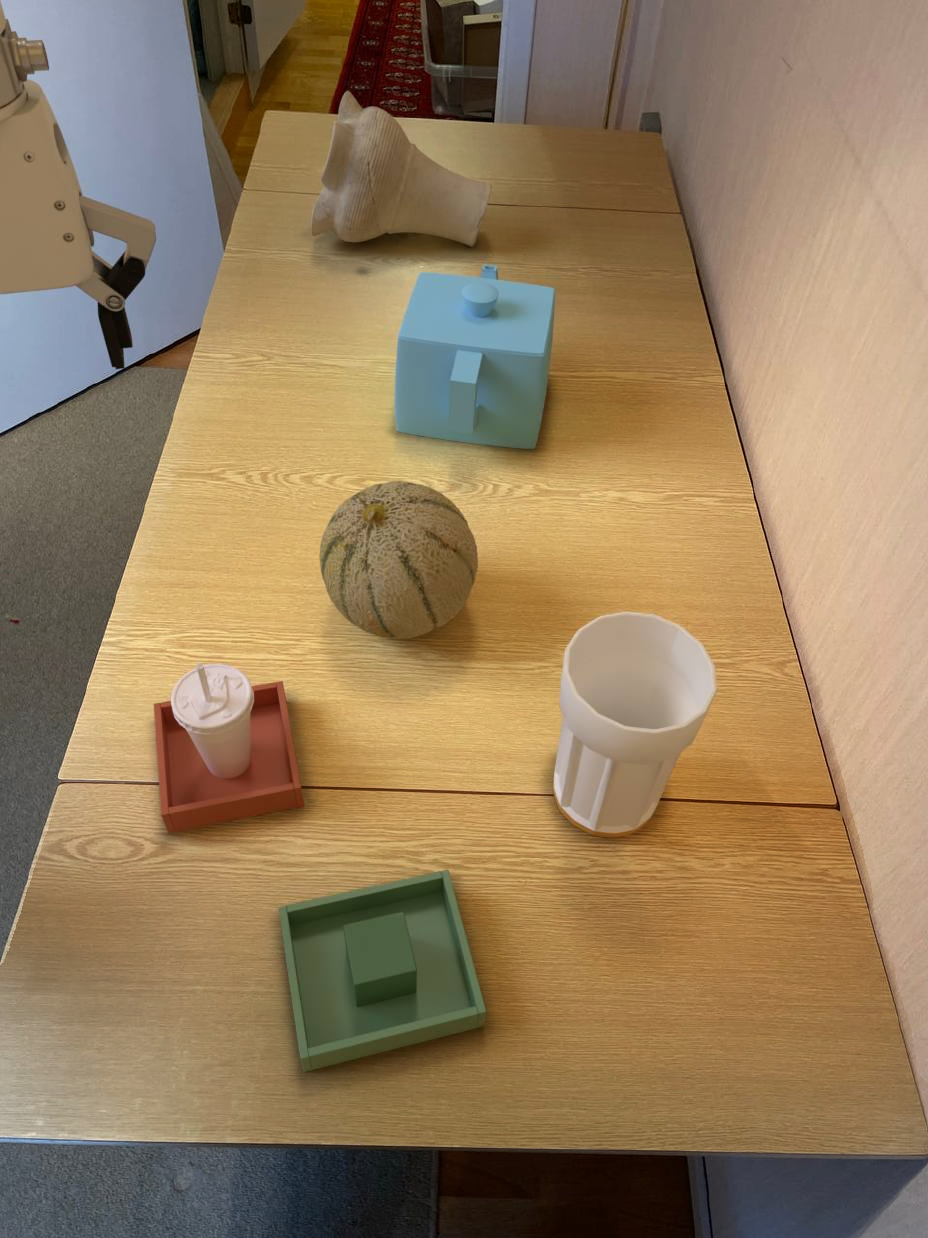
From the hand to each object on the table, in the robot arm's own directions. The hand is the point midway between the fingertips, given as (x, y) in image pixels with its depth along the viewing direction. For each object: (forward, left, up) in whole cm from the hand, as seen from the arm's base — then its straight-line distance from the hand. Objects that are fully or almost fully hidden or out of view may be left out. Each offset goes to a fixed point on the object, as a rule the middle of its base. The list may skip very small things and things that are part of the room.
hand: (38, 365), depth 61 cm
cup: (+37, -18, -36) cm, 55 cm away
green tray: (+15, -29, -36) cm, 49 cm away
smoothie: (+6, -8, -36) cm, 37 cm away
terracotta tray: (+6, -8, -36) cm, 38 cm away
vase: (+40, +75, -36) cm, 93 cm away
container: (+40, +37, -36) cm, 66 cm away
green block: (+15, -29, -36) cm, 48 cm away
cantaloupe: (+24, +6, -36) cm, 44 cm away
